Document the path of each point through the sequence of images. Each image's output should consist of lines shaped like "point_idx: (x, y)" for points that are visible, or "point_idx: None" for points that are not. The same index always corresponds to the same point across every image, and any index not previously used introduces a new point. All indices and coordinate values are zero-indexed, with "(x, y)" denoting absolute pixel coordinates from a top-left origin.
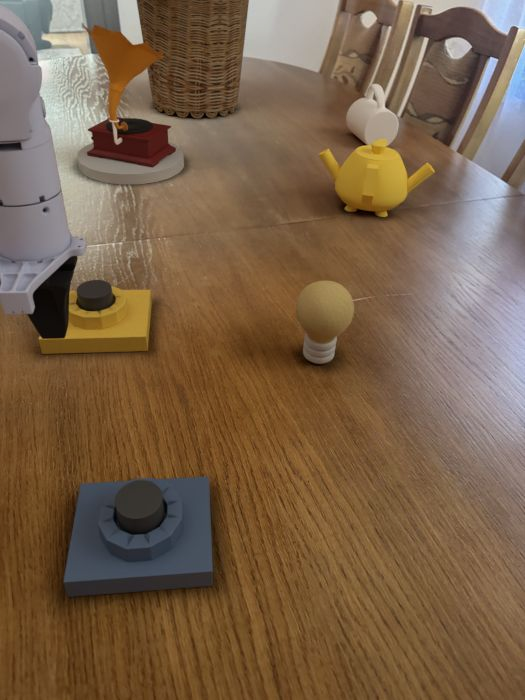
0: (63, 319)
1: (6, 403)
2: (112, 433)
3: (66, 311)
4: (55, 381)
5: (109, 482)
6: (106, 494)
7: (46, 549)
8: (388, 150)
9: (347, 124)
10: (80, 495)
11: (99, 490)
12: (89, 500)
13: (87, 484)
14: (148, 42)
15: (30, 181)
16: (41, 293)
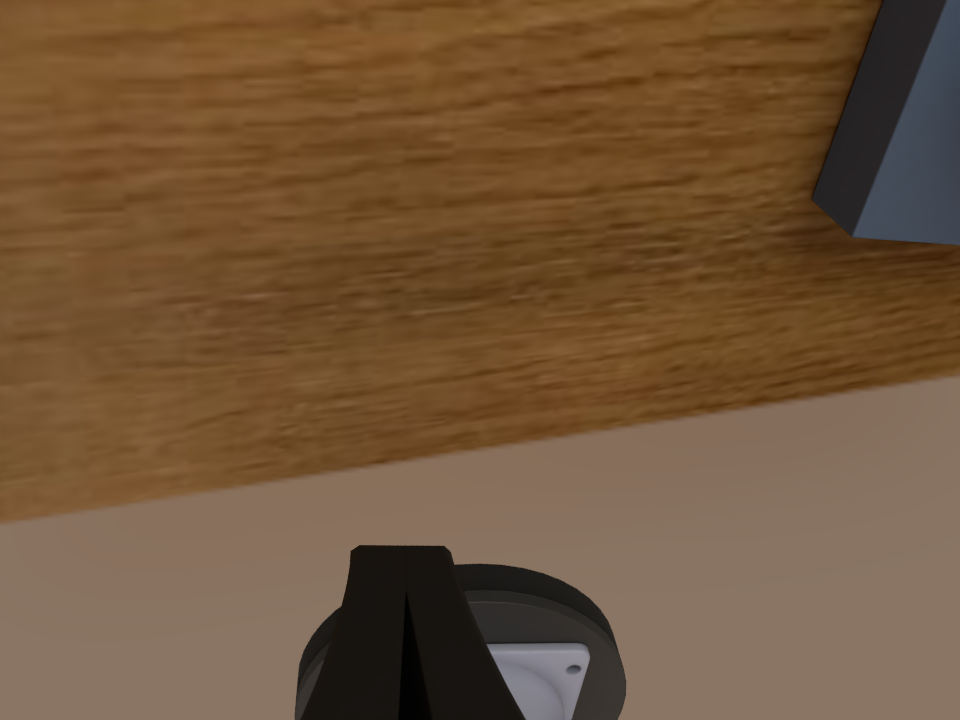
0: (498, 672)
1: (296, 475)
2: (519, 105)
3: (446, 691)
4: (170, 343)
5: (899, 135)
6: (945, 145)
7: (940, 291)
8: None
9: None
10: (904, 234)
11: (914, 170)
12: (943, 204)
13: (867, 214)
14: None
15: None
16: None
